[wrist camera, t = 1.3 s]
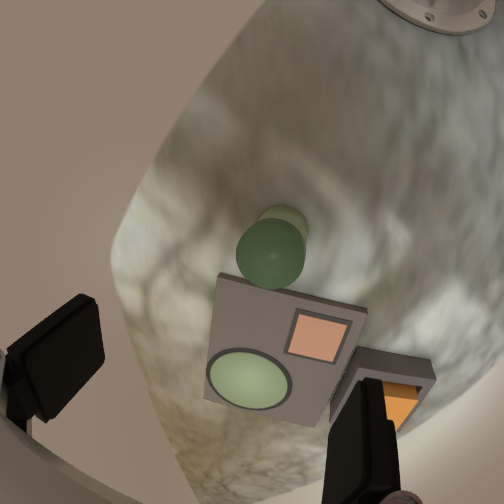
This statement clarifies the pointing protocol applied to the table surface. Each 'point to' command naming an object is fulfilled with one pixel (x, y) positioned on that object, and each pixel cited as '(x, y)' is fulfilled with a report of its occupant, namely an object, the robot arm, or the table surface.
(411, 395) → the button
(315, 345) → the colouring board
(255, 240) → the green capped cylinder
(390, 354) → the button housing
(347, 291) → the table surface
